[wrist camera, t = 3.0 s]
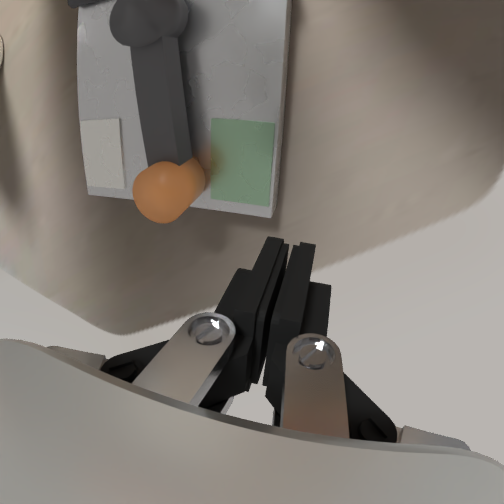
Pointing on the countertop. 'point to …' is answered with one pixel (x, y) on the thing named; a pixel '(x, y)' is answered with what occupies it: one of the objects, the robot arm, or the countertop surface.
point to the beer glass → (1, 51)
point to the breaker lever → (159, 105)
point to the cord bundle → (78, 2)
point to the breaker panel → (193, 101)
